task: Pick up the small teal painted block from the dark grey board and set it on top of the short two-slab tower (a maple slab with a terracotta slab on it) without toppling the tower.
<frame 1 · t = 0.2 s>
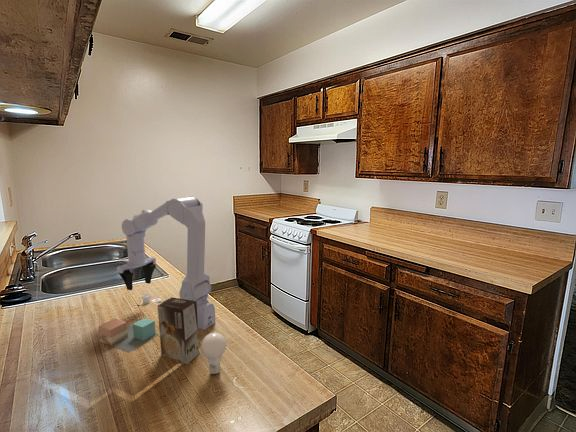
hand: (139, 286, 119), 10 cm above the counter, tool pointing down, fingers open, 7 cm apart
slate board: (129, 340, 100), on the counter
teal block: (144, 335, 101), point 1 cm above the counter, touching slate board
terracotta slab: (113, 331, 99), point 3 cm above the counter, touching maple slab
maple slab: (114, 339, 100), point 1 cm above the counter, touching slate board, terracotta slab
coffee box: (180, 356, 92), on the counter
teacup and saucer: (151, 308, 125), on the counter
lightbulb: (215, 373, 85), on the counter
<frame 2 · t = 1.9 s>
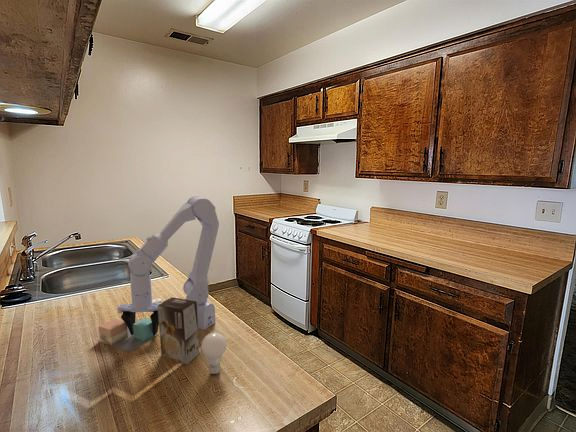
hand: (144, 333, 101), 2 cm above the counter, tool pointing down, fingers open, 6 cm apart
terracotta slab: (113, 331, 99), point 3 cm above the counter, touching gripper, maple slab
everything else where it was.
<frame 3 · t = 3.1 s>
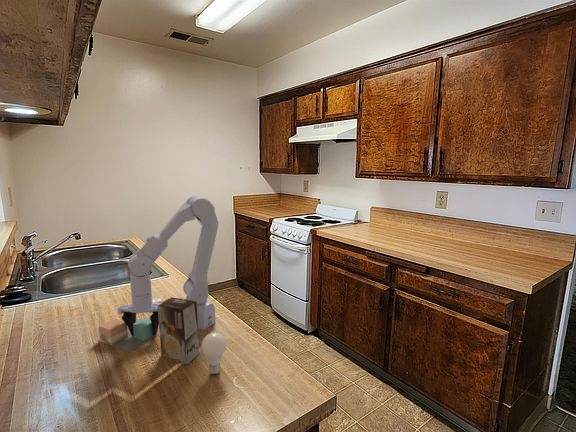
hand: (144, 334, 101), 2 cm above the counter, tool pointing down, fingers closed on teal block, 6 cm apart
teal block: (144, 335, 101), point 1 cm above the counter, touching gripper, slate board
terracotta slab: (113, 331, 99), point 3 cm above the counter, touching maple slab
everything else where it was.
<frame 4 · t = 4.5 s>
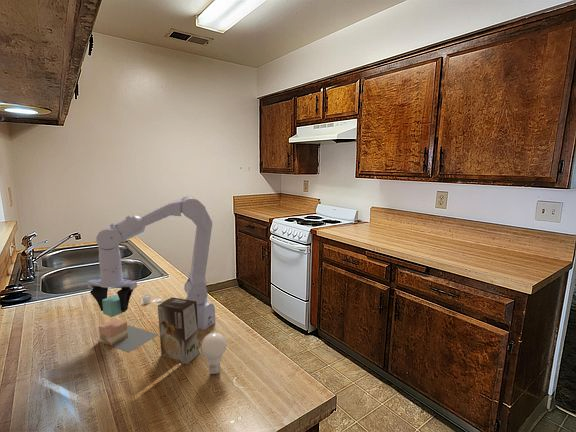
hand: (114, 310, 98), 10 cm above the counter, tool pointing down, fingers closed on teal block, 6 cm apart
teal block: (114, 312, 98), point 10 cm above the counter, touching gripper
everything else where it was.
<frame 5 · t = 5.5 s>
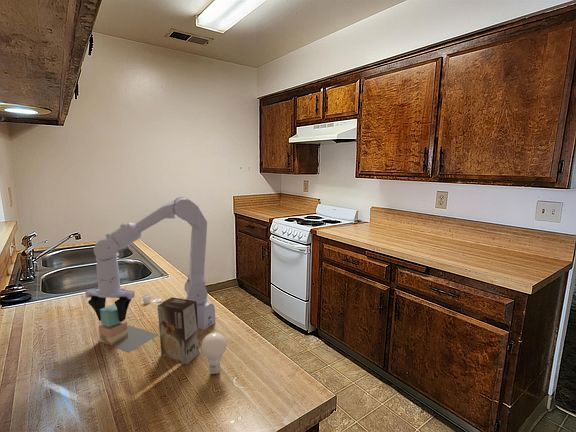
hand: (112, 319, 99), 7 cm above the counter, tool pointing down, fingers closed on teal block, 6 cm apart
teal block: (112, 322, 99), point 7 cm above the counter, touching gripper
everything else where it was.
when the fingers open (7 cm above the counter, at t = 6.2 s): teal block stays where it is, resting on terracotta slab.
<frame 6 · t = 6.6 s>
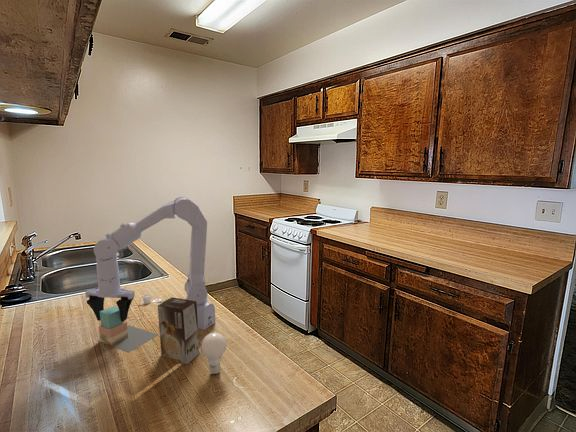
hand: (112, 319, 99), 7 cm above the counter, tool pointing down, fingers open, 7 cm apart
teal block: (112, 324, 99), point 6 cm above the counter, touching terracotta slab
terracotta slab: (113, 331, 99), point 3 cm above the counter, touching maple slab, teal block
everything else where it was.
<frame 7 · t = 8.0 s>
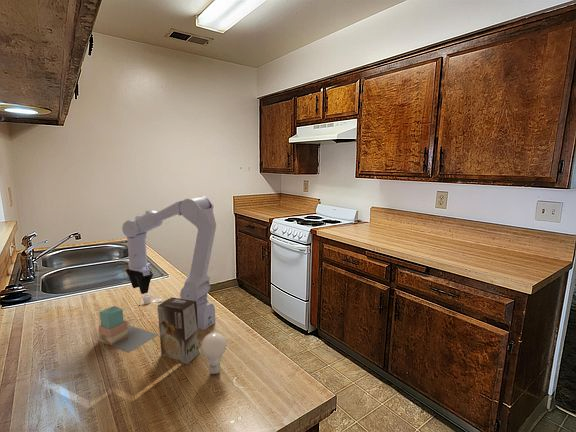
hand: (140, 290, 114), 10 cm above the counter, tool pointing down, fingers open, 7 cm apart
nothing on the counter moved.
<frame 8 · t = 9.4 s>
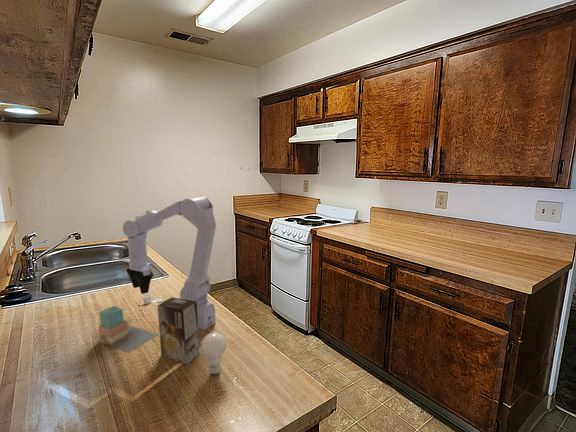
hand: (140, 290, 114), 10 cm above the counter, tool pointing down, fingers open, 7 cm apart
nothing on the counter moved.
at the end: teal block 0.1 cm off-centre on the terracotta slab, point 2.5 cm above the terracotta slab's base; terracotta slab 0.0 cm off-centre on the maple slab, point 2.5 cm above the maple slab's base; teal block tilted 0° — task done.
